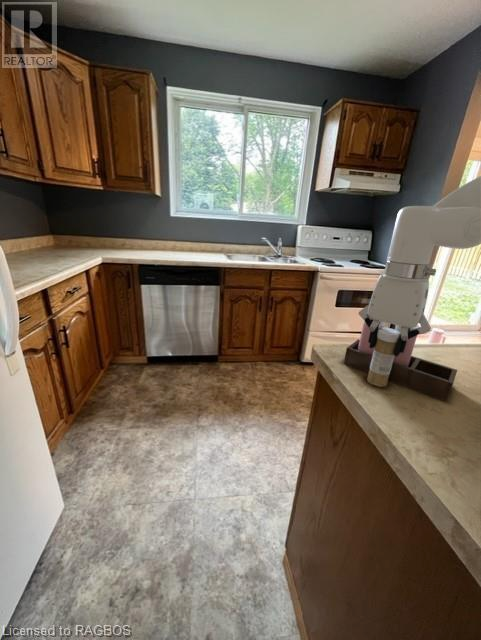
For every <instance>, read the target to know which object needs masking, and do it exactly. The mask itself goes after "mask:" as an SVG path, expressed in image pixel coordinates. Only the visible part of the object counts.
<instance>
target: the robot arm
mask: <svg viewBox="0 0 481 640" xmlns="http://www.w3.org/2000/svg"><path fill="white" fill-rule="evenodd" d="M389 244H390V245H389V249H388V253H387V258H386V261H385V266H384V271H383V273H380V275H379V276H378V278H377V281H376V283H375V286H374V289H373V292H372V294H371V298H370V299H369V300H370V301H369V303H368V304H367V305H366V306H364V307H363V308H362V309H361V310H359V312H358V315H359V317H360V318H361V319H362V320H363V321H364V320H365V323H366V324H367V326H368V327H369V330H370V336H369V340H368V343H370V346H369V348H374V347H375V345H376V341H377V333H378V329H379V328H378V327H379V325H380V323H381V322H382V321H383V322H385V324H386V323H387V324H390V325H393V326H396V325H398V326H401V337H400V338H399V339H398V341H397V345H396V349H395V353H394V355H395V356H398V355H399V354H400V353H403V352H404V350H405V347H406V343H407V340H408V339H410V338H412V337H415V336H417V337H418V336H420V335H423V334H426V333H429V332H430V331H431V330H432V327H431V325H430V323H429V321H428V319H427V317H426V315H425V310H426V305H427V301H428V297H429V288H430V280H428V279H426V278H427V277H431V276H432V277H435V276H436V273H437V269H436V268H432V267H431V266H430V263H431V258H432V255H433V252H434V248H435V247H444V248H449V249H454V250H455V249H457V250H464V249H466V250H467V249H471V248H475V247H477V246H479V245H481V175H479V176H477V177H476V178H474V179H472V180H470V181H468V182H467V183H465V184H463V185H460V187H458V188H456V189H455V190H453V191H451V192H450V193H448V194H447V195H445V196H444V197H443V198H442V199H441V200H439V201H438V202H436V203H435V204H434V205H408V206H404V207H402V208H400V209H399V211H398V213H397V215H396V219H395V223H394V227H393V231H392V236H391V240H390V243H389ZM373 319H374V320H373ZM417 325H418V326H419V328H416V329H413V330H411V328H414V327H416V326H417Z"/></svg>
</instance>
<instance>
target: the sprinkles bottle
mask: <svg viewBox="0 0 481 640" xmlns="http://www.w3.org/2000/svg"><path fill="white" fill-rule="evenodd" d="M400 336H401V333H400V332H399V331H397V330H395V328H390V327H384V328H380V329H378V333H377V341H376V345H375V348H374V352H373V356H372V361H371V365H370V370H369V372H368V373H367V374H368V375H367V377H366V381H367V382H368V383H369V384H370V385H373V386H375V387H378V388H383V387H386V386H387V385H388V381H389V380H388V378H389V374H390V371H391V367H392V363H393V359H394V356H395V355H394V353H395V349H396V345H397V341H398V339H399V338H400Z"/></svg>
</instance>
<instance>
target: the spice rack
mask: <svg viewBox="0 0 481 640" xmlns="http://www.w3.org/2000/svg"><path fill="white" fill-rule="evenodd" d="M359 342H360V338H358V339H357V340H355V341H354V342H353V343H351V344H350V345H349V346H347V347H346V350H345V354H344V355H345V356H344V361H343V364H345V365H348V366H350V367H353V368H355V369H358V370H361V371H364V372H367V373H369V370H370V365H371V361H372V356H373V355H371V354H368V353H365V352H362V351H359V350H358V346H359ZM457 373H458V369H456V368H453V367H450V366H447V365H443V364H440V363H437V362H433V361H430V360H427V359H423V358H421V357H417V356H413V355H411V358H410V362H409V365H408V367H407V366H404V365H401V364H398V363H395V362H393V363H392V367H391V371H390V374H389V378H388V381H390V382H393V383H396V384H398V385H401V386H404V387H406V388H409V389H412V390H414V391H416V392H417V391H418V392H420V393H423V394H425V395H428V396H430V397H433V398H436V399H438V400H441V401H443V402H447V401H448V399H449V397H450V394H451V391H452V388H453V386H454V383H455V379H456V377H457Z"/></svg>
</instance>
